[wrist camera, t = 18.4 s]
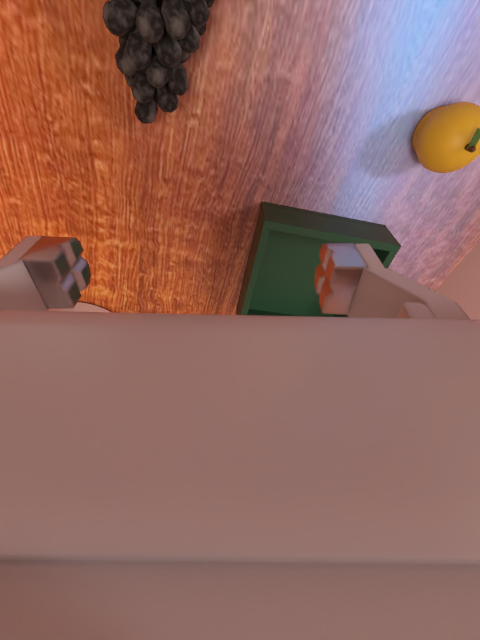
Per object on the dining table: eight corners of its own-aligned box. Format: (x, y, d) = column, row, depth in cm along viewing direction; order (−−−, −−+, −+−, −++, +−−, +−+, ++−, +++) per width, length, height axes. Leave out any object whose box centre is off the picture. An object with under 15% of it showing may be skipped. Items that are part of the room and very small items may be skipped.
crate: (332, 322, 49) (340, 346, 45) (236, 307, 47) (236, 331, 44) (384, 225, 38) (401, 245, 34) (261, 201, 36) (264, 220, 32)
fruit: (151, 152, 25) (204, -167, 15) (61, 104, 25) (54, -246, 15) (196, 139, 31) (253, -88, 21) (125, 101, 31) (149, -142, 22)
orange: (447, 165, 34) (485, 187, 28) (396, 160, 33) (425, 181, 28) (480, 101, 30) (530, 113, 25) (422, 94, 29) (461, 105, 24)
